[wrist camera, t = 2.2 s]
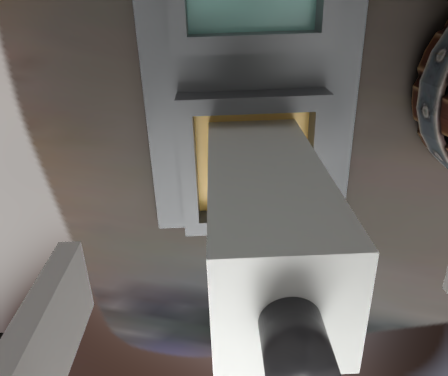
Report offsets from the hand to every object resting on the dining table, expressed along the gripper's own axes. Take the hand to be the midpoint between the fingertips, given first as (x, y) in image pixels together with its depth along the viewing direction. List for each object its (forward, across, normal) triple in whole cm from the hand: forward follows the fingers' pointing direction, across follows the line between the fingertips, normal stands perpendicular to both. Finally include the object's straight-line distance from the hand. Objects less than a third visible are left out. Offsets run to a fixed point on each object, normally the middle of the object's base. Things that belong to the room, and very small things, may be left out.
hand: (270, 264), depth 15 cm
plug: (+9, 0, 0) cm, 9 cm away
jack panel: (+10, 0, +5) cm, 11 cm away
